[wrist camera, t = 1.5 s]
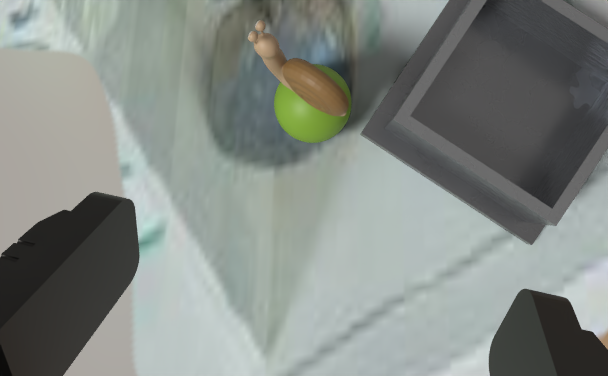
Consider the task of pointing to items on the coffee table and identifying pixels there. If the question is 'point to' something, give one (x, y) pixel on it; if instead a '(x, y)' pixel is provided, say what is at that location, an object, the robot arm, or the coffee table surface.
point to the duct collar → (503, 108)
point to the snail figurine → (304, 92)
